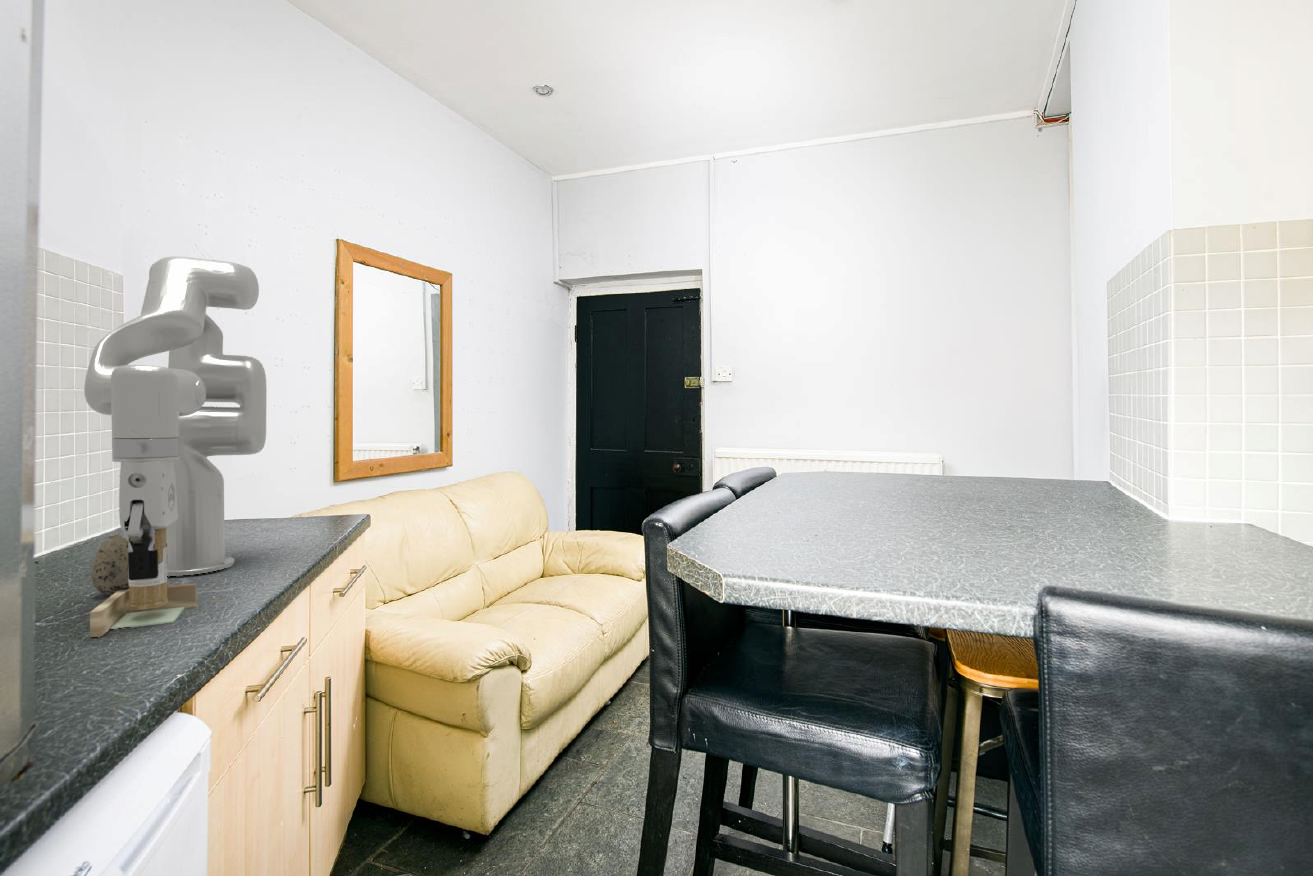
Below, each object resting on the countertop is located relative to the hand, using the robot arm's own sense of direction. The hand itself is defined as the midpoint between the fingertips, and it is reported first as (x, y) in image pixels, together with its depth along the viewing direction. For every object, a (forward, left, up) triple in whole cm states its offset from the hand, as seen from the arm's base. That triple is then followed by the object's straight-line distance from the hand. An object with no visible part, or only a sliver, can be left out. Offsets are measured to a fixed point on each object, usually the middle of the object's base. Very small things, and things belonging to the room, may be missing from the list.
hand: (148, 573), depth 89 cm
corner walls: (+1, 0, -7) cm, 7 cm away
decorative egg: (-17, -8, -7) cm, 20 cm away
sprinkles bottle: (0, 0, -5) cm, 5 cm away
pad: (0, 0, -7) cm, 7 cm away
